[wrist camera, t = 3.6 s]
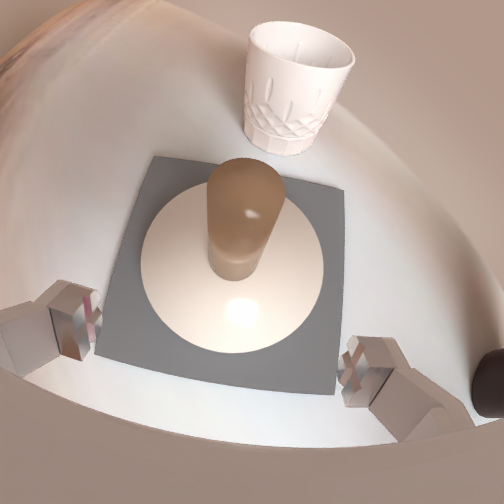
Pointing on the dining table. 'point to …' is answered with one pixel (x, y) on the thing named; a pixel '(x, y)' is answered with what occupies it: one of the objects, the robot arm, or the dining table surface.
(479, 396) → the bottle
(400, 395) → the robot arm
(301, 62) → the white cup
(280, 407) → the dining table surface
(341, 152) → the dining table surface
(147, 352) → the slate mat
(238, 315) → the lid
